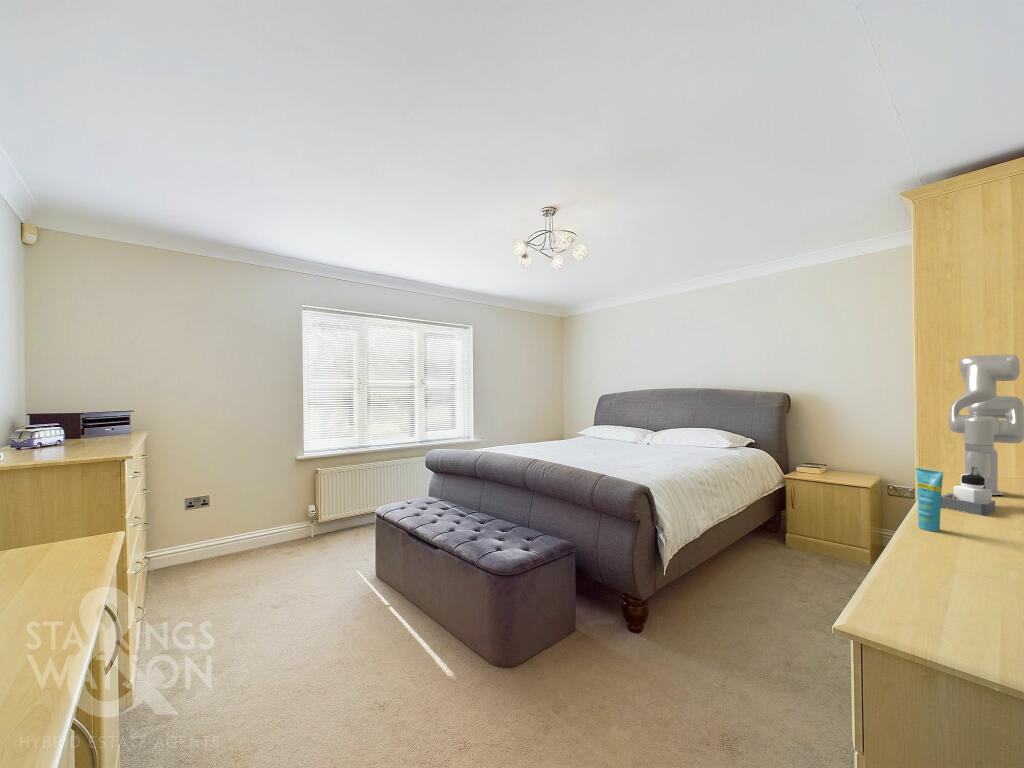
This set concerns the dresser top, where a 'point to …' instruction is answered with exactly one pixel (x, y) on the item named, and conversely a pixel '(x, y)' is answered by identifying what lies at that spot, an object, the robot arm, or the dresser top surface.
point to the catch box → (967, 505)
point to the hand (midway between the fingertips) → (978, 495)
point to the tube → (929, 499)
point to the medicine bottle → (972, 489)
